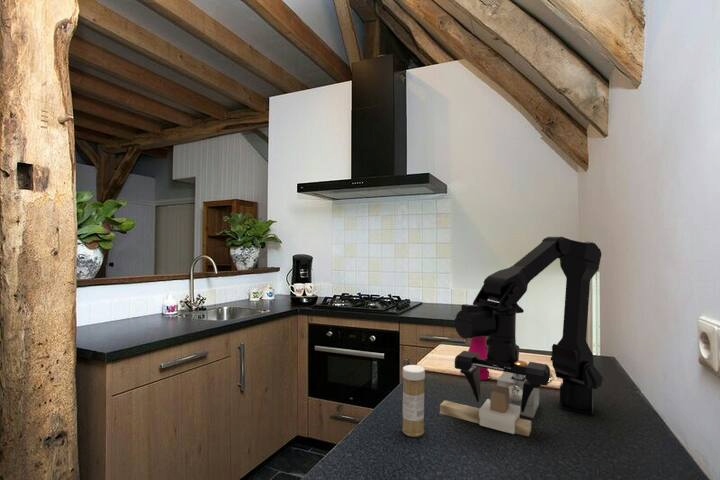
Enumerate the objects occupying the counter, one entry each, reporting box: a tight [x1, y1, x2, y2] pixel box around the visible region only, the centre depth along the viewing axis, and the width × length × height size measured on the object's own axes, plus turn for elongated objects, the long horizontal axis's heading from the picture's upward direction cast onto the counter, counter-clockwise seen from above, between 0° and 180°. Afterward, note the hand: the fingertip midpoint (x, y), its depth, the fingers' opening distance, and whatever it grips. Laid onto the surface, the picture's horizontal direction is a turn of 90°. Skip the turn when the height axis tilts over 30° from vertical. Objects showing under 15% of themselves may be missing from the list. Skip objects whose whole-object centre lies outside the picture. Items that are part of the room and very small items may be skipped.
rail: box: [439, 399, 532, 437], centre depth 87 cm, size 19×3×2 cm, turn 58°
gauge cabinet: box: [496, 371, 540, 419], centre depth 94 cm, size 8×8×7 cm
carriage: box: [479, 384, 520, 435], centre depth 85 cm, size 7×7×8 cm
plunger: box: [513, 360, 528, 381], centre depth 95 cm, size 4×4×6 cm
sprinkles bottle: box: [401, 364, 426, 438], centre depth 82 cm, size 5×5×14 cm
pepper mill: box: [467, 336, 490, 381], centre depth 116 cm, size 7×7×20 cm
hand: (500, 406), depth 85 cm, fingers open, 9 cm apart
